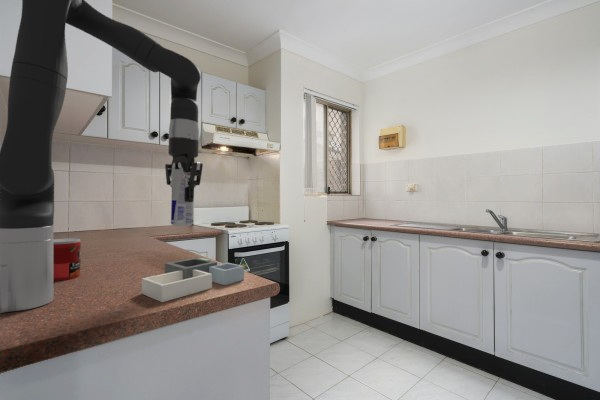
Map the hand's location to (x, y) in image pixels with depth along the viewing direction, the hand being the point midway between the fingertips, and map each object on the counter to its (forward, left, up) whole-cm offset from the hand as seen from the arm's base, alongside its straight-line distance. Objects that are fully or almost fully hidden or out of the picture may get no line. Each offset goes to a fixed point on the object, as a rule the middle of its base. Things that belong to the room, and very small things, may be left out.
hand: (182, 201), depth 81 cm
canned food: (-17, +34, -23) cm, 44 cm away
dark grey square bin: (+6, +5, -23) cm, 24 cm away
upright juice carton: (0, 0, -7) cm, 7 cm away
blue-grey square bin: (+11, -5, -23) cm, 26 cm away
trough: (-3, -3, -23) cm, 23 cm away
